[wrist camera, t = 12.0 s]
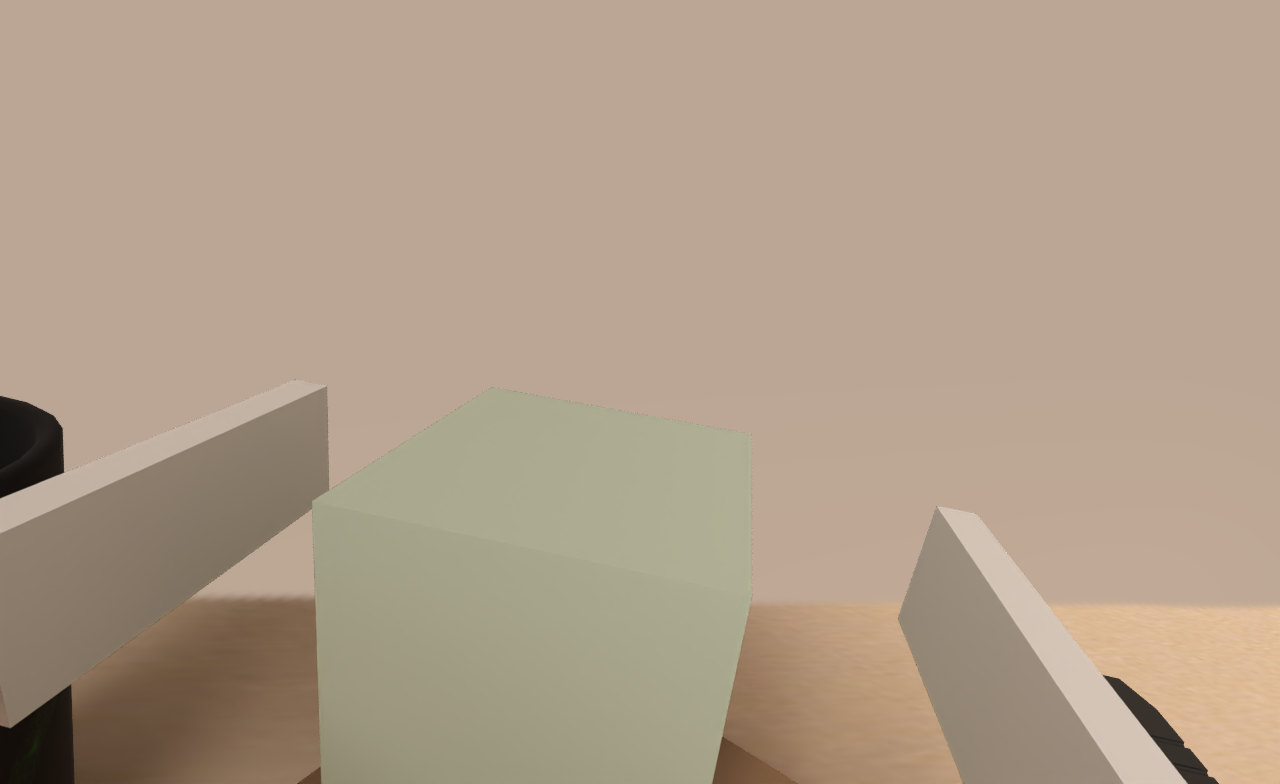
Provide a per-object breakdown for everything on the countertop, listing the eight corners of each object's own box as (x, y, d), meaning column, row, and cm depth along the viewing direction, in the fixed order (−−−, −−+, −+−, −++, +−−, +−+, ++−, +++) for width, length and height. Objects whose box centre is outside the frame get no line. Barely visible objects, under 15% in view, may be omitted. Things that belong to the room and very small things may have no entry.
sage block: (327, 986, 11) (312, 501, 8) (470, 728, 17) (491, 387, 14) (645, 1091, 10) (752, 596, 7) (682, 783, 16) (751, 433, 13)
